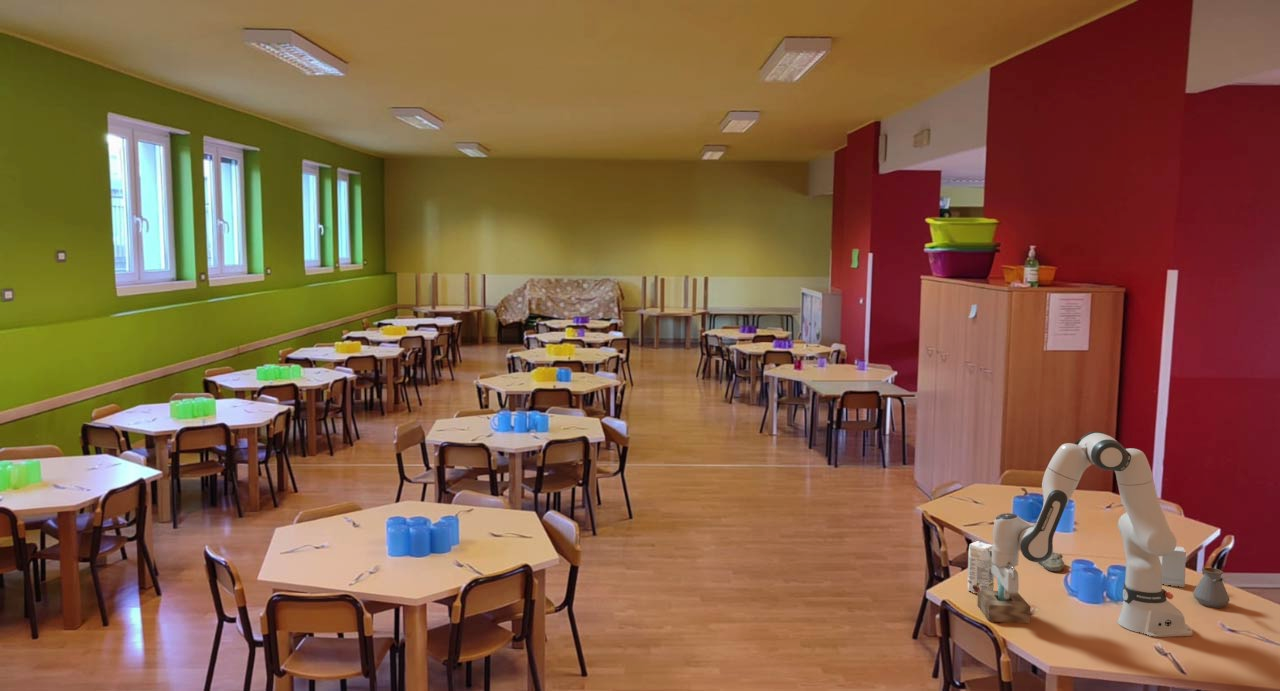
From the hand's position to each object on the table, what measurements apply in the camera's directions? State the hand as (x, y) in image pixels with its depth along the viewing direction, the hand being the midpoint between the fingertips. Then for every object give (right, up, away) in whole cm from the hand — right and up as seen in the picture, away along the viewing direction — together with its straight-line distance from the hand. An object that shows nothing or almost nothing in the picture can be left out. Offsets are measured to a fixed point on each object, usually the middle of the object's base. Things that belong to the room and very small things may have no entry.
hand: (1003, 595), depth 311 cm
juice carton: (0, -5, +22) cm, 22 cm away
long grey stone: (+43, -2, +59) cm, 73 cm away
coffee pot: (+80, -7, +6) cm, 80 cm away
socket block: (0, -7, +1) cm, 7 cm away
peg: (0, -5, +1) cm, 5 cm away
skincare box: (+79, -4, +30) cm, 85 cm away
